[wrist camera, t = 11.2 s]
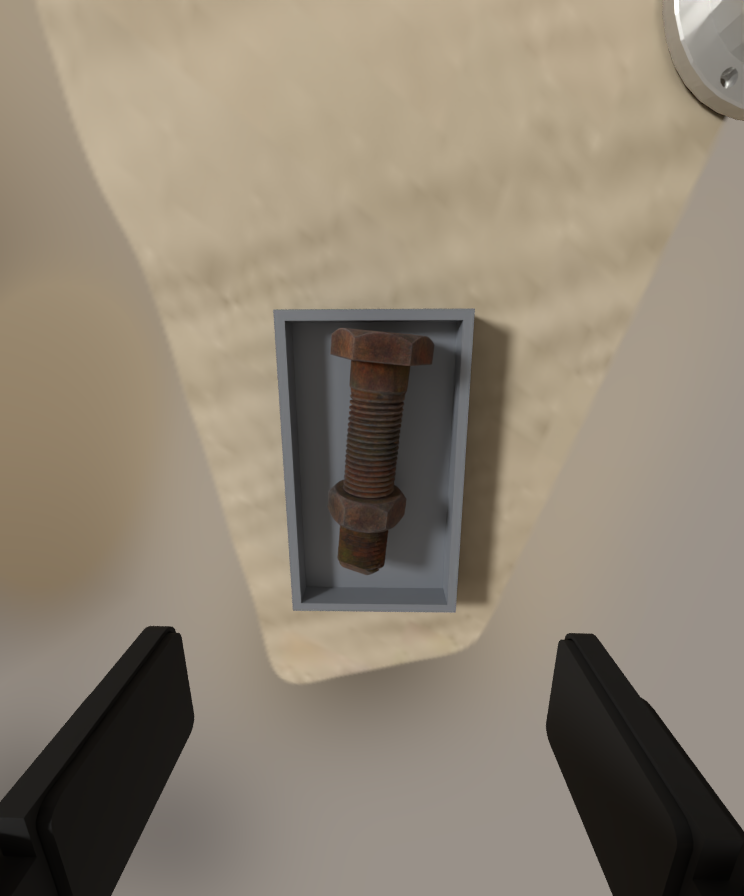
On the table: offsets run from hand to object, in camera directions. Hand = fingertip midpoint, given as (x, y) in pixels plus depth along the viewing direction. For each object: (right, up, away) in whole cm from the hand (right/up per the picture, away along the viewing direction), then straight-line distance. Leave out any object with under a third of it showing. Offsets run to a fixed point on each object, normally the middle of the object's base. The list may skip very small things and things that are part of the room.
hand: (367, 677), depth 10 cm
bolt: (0, +6, +17) cm, 18 cm away
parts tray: (0, +5, +17) cm, 18 cm away
